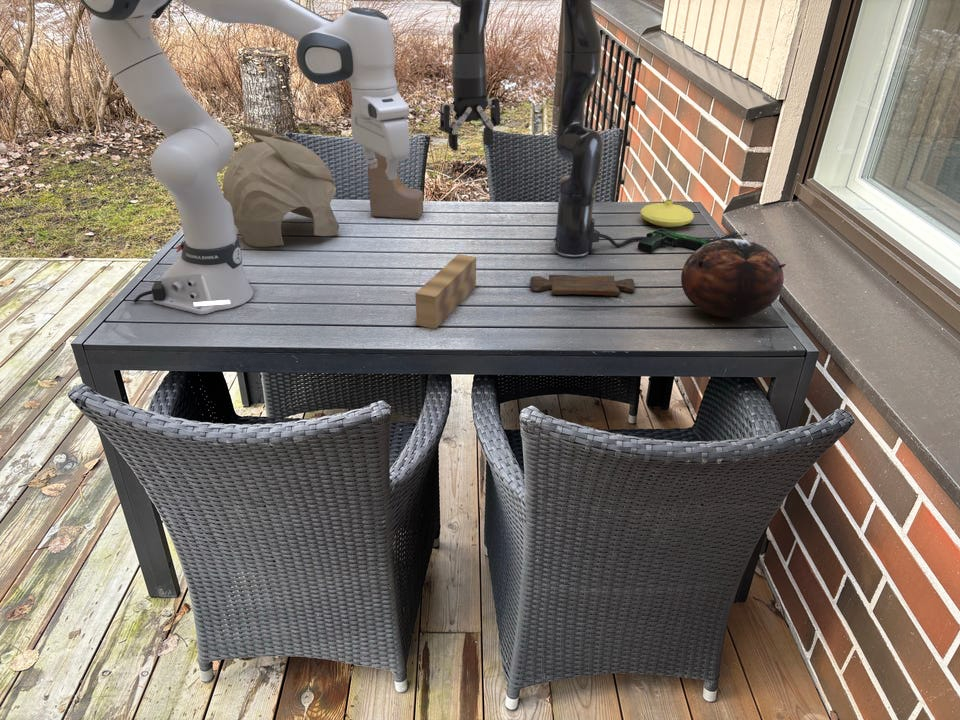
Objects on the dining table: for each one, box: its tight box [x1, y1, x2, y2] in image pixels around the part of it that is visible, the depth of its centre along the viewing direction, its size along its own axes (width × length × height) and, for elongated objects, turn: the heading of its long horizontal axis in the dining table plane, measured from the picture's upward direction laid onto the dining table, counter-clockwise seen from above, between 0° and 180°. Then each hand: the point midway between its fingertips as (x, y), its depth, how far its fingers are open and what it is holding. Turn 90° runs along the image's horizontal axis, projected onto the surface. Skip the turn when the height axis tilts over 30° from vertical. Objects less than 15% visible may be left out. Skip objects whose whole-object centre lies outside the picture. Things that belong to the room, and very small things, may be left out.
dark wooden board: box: [529, 274, 635, 297], centre depth 175 cm, size 26×2×10 cm
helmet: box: [222, 125, 340, 248], centre depth 196 cm, size 27×30×30 cm
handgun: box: [637, 227, 709, 254], centre depth 199 cm, size 16×3×15 cm
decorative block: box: [367, 152, 424, 220], centre depth 212 cm, size 8×15×30 cm, turn 82°
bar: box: [414, 253, 477, 330], centre depth 165 cm, size 24×5×8 cm, turn 159°
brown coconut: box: [680, 238, 787, 319], centre depth 162 cm, size 22×18×20 cm
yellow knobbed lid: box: [640, 198, 695, 228], centre depth 215 cm, size 16×16×7 cm
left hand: (381, 173), depth 144 cm, fingers open, 8 cm apart
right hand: (471, 147), depth 166 cm, fingers open, 8 cm apart
